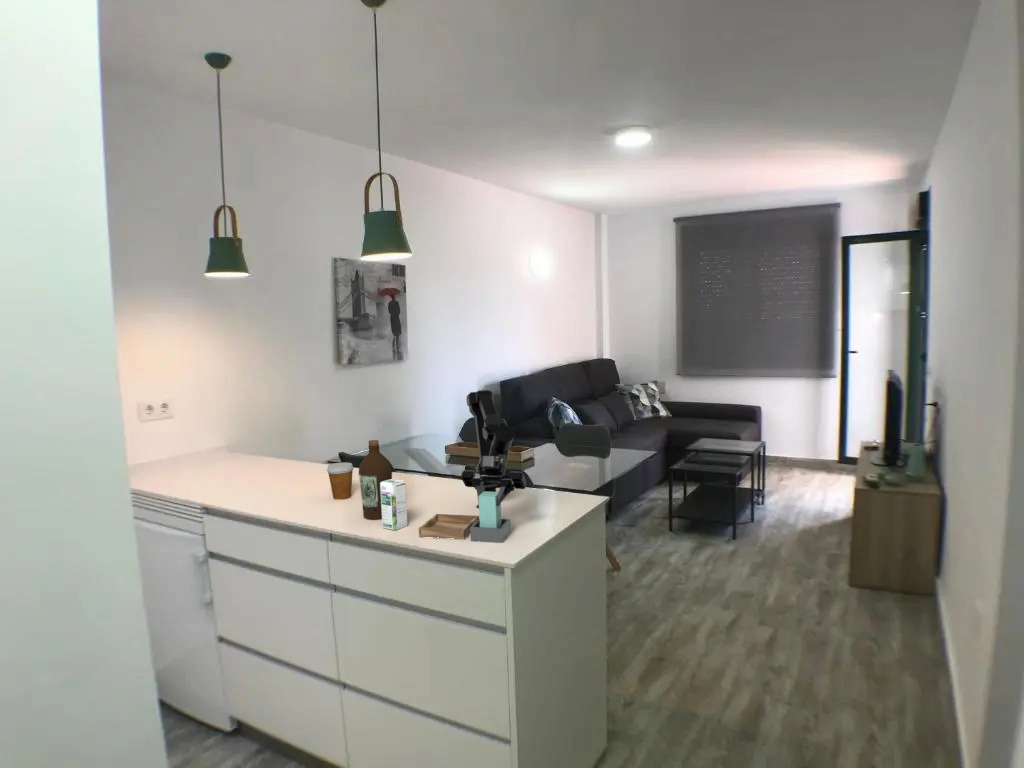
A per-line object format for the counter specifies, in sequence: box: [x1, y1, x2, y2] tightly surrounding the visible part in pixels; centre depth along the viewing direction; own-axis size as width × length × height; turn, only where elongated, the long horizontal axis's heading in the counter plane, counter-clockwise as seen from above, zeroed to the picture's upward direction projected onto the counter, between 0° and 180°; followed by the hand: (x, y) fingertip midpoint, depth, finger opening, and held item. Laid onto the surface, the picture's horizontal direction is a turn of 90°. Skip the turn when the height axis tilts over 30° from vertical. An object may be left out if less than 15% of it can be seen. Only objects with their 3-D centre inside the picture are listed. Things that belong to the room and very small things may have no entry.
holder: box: [469, 518, 512, 544], centre depth 195 cm, size 9×9×4 cm
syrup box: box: [380, 478, 408, 531], centre depth 207 cm, size 6×6×14 cm
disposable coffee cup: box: [326, 462, 355, 500], centre depth 245 cm, size 10×10×12 cm
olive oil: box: [358, 439, 393, 521], centre depth 219 cm, size 11×11×25 cm
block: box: [478, 491, 502, 528], centre depth 195 cm, size 5×5×10 cm
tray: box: [418, 513, 480, 540], centre depth 202 cm, size 14×14×3 cm
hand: (488, 505), depth 193 cm, fingers closed on block, 5 cm apart
